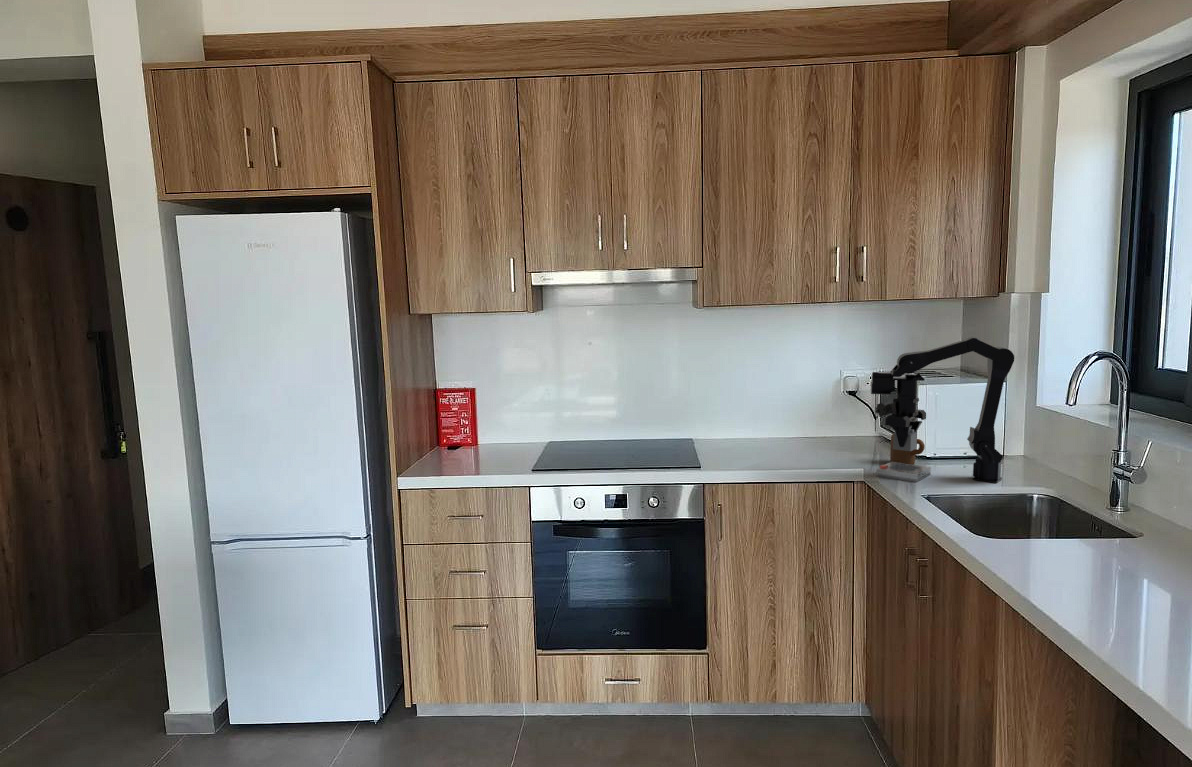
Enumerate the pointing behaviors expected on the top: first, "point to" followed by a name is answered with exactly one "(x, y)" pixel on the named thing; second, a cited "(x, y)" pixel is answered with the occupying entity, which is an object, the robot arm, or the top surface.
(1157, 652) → the top surface
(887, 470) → the socket plate
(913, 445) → the plug
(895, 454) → the mug
